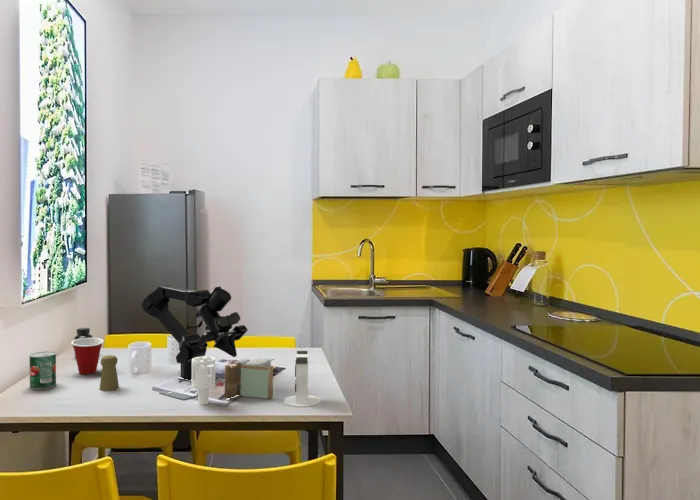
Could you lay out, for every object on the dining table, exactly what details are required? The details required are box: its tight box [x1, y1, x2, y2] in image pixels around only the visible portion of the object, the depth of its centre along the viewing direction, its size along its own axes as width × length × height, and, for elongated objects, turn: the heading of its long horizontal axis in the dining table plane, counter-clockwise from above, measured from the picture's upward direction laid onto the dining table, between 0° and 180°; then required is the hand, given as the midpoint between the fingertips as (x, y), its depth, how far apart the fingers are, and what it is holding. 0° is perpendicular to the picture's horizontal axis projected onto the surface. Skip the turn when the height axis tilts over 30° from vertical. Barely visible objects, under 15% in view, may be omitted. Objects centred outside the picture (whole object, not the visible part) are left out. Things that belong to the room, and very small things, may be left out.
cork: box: [99, 354, 120, 392], centre depth 190 cm, size 6×6×11 cm
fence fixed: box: [224, 362, 241, 399], centre depth 181 cm, size 2×6×11 cm, turn 147°
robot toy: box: [233, 357, 275, 366], centre depth 215 cm, size 12×4×15 cm
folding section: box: [240, 364, 274, 400], centre depth 182 cm, size 2×11×10 cm, turn 75°
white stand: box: [283, 350, 321, 408], centre depth 179 cm, size 12×11×15 cm
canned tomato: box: [29, 351, 57, 390], centre depth 191 cm, size 8×8×11 cm
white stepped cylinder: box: [191, 355, 216, 406], centre depth 175 cm, size 7×7×15 cm
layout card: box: [158, 390, 193, 401], centre depth 185 cm, size 12×9×1 cm
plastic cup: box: [71, 337, 104, 375], centre depth 209 cm, size 11×11×12 cm
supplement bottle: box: [73, 327, 94, 359], centre depth 232 cm, size 7×7×12 cm
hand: (235, 356), depth 191 cm, fingers closed
